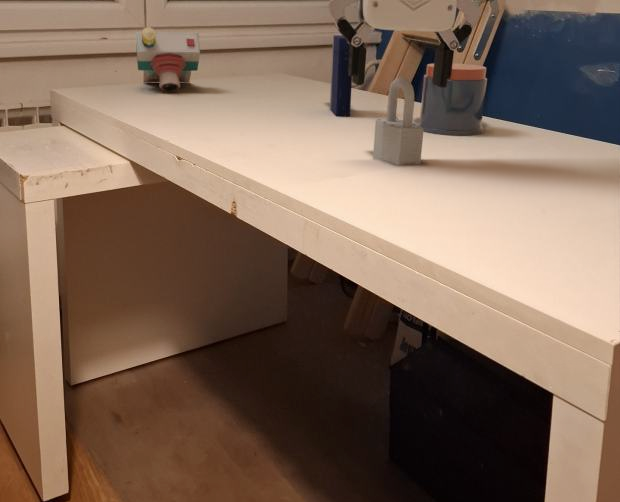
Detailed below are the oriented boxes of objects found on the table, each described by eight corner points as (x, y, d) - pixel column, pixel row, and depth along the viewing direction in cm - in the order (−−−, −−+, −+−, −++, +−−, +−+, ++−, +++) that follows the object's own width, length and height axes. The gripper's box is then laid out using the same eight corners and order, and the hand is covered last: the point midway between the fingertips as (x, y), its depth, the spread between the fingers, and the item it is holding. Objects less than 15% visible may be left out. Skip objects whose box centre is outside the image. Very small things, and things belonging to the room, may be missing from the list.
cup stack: (469, 123, 119) (476, 63, 115) (492, 135, 111) (501, 70, 107) (409, 123, 118) (414, 62, 114) (428, 135, 109) (434, 69, 105)
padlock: (368, 159, 93) (373, 74, 88) (397, 158, 94) (404, 73, 90) (393, 173, 87) (400, 81, 82) (424, 171, 88) (433, 81, 84)
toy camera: (140, 116, 151) (140, 71, 132) (136, 73, 152) (136, 22, 133) (196, 116, 154) (204, 72, 134) (192, 73, 154) (199, 23, 135)
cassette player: (350, 116, 122) (354, 36, 117) (336, 116, 122) (339, 36, 116) (343, 109, 129) (346, 33, 123) (329, 109, 128) (332, 32, 123)
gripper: (341, -95, 74) (330, 87, 82) (506, -84, 77) (482, 91, 85) (327, -90, 81) (318, 78, 88) (479, -79, 84) (459, 82, 91)
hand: (398, 84), depth 86 cm, fingers open, 9 cm apart
